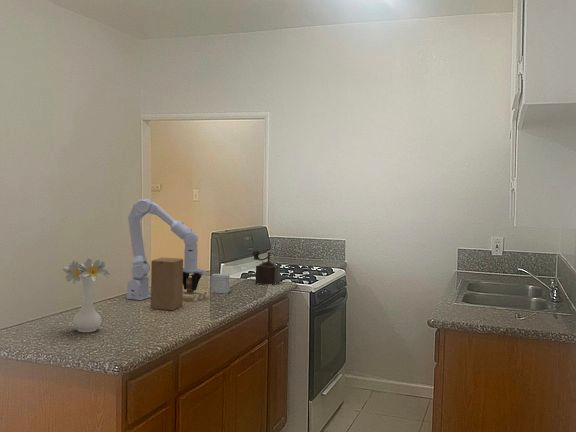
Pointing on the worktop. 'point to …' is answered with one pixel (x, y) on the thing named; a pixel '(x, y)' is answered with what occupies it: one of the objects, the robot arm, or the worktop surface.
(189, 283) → the peg
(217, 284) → the medicine box
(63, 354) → the worktop surface
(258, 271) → the coffee grinder
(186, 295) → the board
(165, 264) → the wooden block
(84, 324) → the flower vase
